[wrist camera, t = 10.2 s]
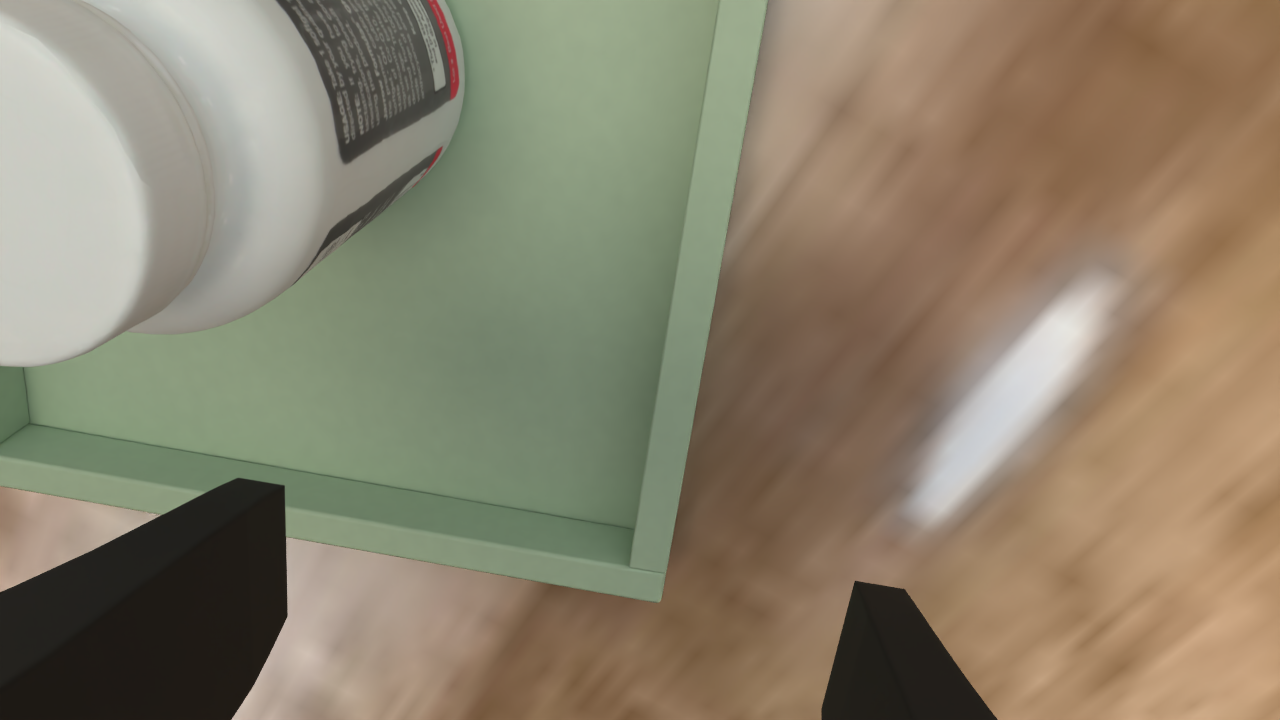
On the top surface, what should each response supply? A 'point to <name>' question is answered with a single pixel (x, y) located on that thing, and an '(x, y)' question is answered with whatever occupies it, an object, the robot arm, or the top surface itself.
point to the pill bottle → (201, 153)
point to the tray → (464, 323)
